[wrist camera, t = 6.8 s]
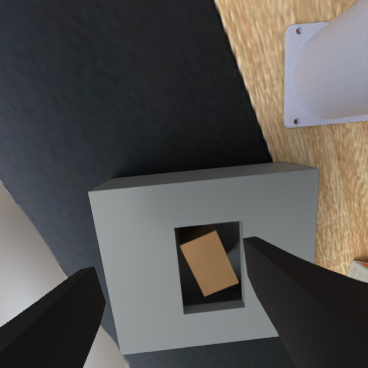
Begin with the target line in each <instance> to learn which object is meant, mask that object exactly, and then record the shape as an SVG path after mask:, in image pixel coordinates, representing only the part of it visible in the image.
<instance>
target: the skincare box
mask: <svg viewBox="0 0 368 368" xmlns="http://www.w3.org/2000/svg"><path fill="white" fill-rule="evenodd" d="M346 276H348V277H351V278H354V279H357V280H360V281H363V282H367V283H368V263H367V262H362V261H356V260H353V261H351V264H350V267H349V269H348V272H347V274H346Z"/></svg>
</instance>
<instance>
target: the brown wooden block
mask: <svg viewBox="0 0 368 368" xmlns="http://www.w3.org/2000/svg"><path fill="white" fill-rule="evenodd" d="M179 242H180V248H181V250H182V252H183V254H184V256H185V258H186V260H187V262H188V264H189V266H190V268H191V270H192V272H193V274H194V276H195V278H196V280H197V282H198V284H199V286H200V288H201V290H202V292H203V294H204V296H207V295H210V294H212V293H215V292H217V291H219V290H222V289H224V288H227V287H229V286H232V285H234V284H237V283H239V282H238V280H237V278H236V275H235V273H234V271H233V268H232V266H231V264H230V262H229V259H228V257H227V255H226V252H225V250H224V248H223V246H222V243H221V241H220V239H219V236H218V234H217V232H216V230H215V227H214V225H213V224H205V225H196V226H186V227H179Z"/></svg>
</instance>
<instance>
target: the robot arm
mask: <svg viewBox="0 0 368 368" xmlns="http://www.w3.org/2000/svg"><path fill="white" fill-rule="evenodd" d="M296 30H299V32H300V34H297V33H296ZM295 119H296V120H297V123H296V124H294V120H295ZM359 121H368V0H359V1H357V2H356V3H355V4H353V5H352V6H351V7H349V8H348V9H347V10H346V11H344V12H343V13H342V14H340V15H339V16H338V17H336V18H335V19H334V20H333V21H328V22H316V23H304V24H293V25H290V26H289V27H288V28H287V29H286V31H285V56H284V126H285V127H286V128H296V127H306V126H317V125H327V124H338V123H349V122H359ZM243 245H244V253H245V261H246V268H247V276H248V278H249V280H250V283H251V285H252V287H253V290H254V292H255V294H256V296H257V298H258V300H259V302H260V303H261V305H262V307H263V309H264V310H265V312H266V314H267V316H268V317H269V319H270V321H271V322H272V324H273V326H274V328H275V329H276V331H277V333H278V335H279V336H280V338H281V340H282V341H283V343H284V345H285V347H286V348H287V350H288V352H289V354H290V356H291V358H292V360H293V362H294V364H295V366H296V368H368V283H367V282H363V281H360V280H357V279H354V278H351V277H348V276H345V275H342V274H339V273H337V272H334V271H331V270H328V269H326V268H323V267H320V266H318V265H316V264H313V263H311V262H309V261H306V260H304V259H302V258H299V257H297V256H295V255H293V254H291V253H289V252H287V251H285V250H283V249H281V248H279V247H277V246H275V245H273V244H271V243H269V242H267V241H265V240H263V239H261V238H259V237H256V236H253V237H247V238H243ZM105 304H106V302H105V298H104V295H103V292H102V289H101V286H100V283H99V280H98V277H97V273H96V270H95V267H90V268H84V269H81V270H79V271H78V272H76V273H75V274H73V275H72V276H70V277H69V278H67V279H66V280H65V281H63V282H62V283H61V284H59V285H58V286H57V287H55V288H54V289H53V290H52V291H50V292H49V293H47V294H46V295H45V296H43V297H42V298H41V299H40V300H38V301H37V302H35V303H34V304H32V305H31V306H30V307H28V308H27V309H26V310H24V311H23V312H21V313H20V314H19V315H17V316H16V317H14V318H13V319H12V320H10V321H9V322H7V323H6V324H5V325H3V326H1V327H0V368H83V366H84V364H85V361H86V359H87V356H88V354H89V351H90V349H91V346H92V344H93V341H94V339H95V336H96V334H97V331H98V329H99V326H100V323H101V319H102V316H103V312H104V308H105Z"/></svg>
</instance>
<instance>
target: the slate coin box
mask: <svg viewBox="0 0 368 368" xmlns="http://www.w3.org/2000/svg"><path fill="white" fill-rule="evenodd" d="M318 186H319V169H318V168H313V167H307V166H302V165H297V164H291V163H286V162H273V163H263V164H253V165H243V166H233V167H223V168H212V169H202V170H192V171H182V172H172V173H162V174H152V175H142V176H132V177H121V178H111V179H110V180H108V181H106V182H105V183H103V184H101V185H99V186H98V187H96V188H94V189H92V190H91V191H89V192H88V193H89V198H90V203H91V208H92V213H93V218H94V223H95V228H96V233H97V238H98V243H99V247H100V252H101V257H102V262H103V267H104V272H105V277H106V282H107V287H108V292H109V297H110V302H111V306H112V311H113V316H114V321H115V326H116V331H117V336H118V341H119V346H120V351H121V355H124V354H133V353H141V352H149V351H158V350H166V349H175V348H183V347H191V346H200V345H208V344H216V343H225V342H233V341H242V340H250V339H258V338H267V337H275V336H279V335H278V333H277V331H276V329H275V328H274V326H273V324H272V322H271V321H270V319H269V317H268V316H267V314H266V312H265V310H264V309H263V307H262V305H261V303H260V302H259V300H258V298H257V296H256V294H255V292H254V290H253V287H252V285H251V283H250V280H249V278H248V276H247V268H246V261H245V253H244V245H243V238H247V237H253V236H256V237H259V238H261V239H263V240H265V241H267V242H269V243H271V244H273V245H275V246H277V247H279V248H281V249H283V250H285V251H287V252H289V253H291V254H293V255H295V256H297V257H299V258H302V259H304V260H306V261H309V262H311V263H313V264H314V260H315V242H316V223H317V205H318ZM205 224H213V225H214V227H215V230H216V232H217V234H218V236H219V239H220V241H221V243H222V246H223V248H224V250H225V252H226V255H227V257H228V259H229V262H230V264H231V266H232V268H233V271H234V273H235V275H236V278H237V280H238V282H239V283H237V284H234V285H232V286H229V287H227V288H224V289H222V290H219V291H217V292H215V293H212V294H210V295H207V296H204V294H203V292H202V290H201V288H200V286H199V284H198V282H197V280H196V278H195V276H194V274H193V272H192V270H191V268H190V266H189V264H188V262H187V260H186V258H185V256H184V254H183V252H182V250H181V248H180V242H179V227H186V226H196V225H205Z"/></svg>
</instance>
